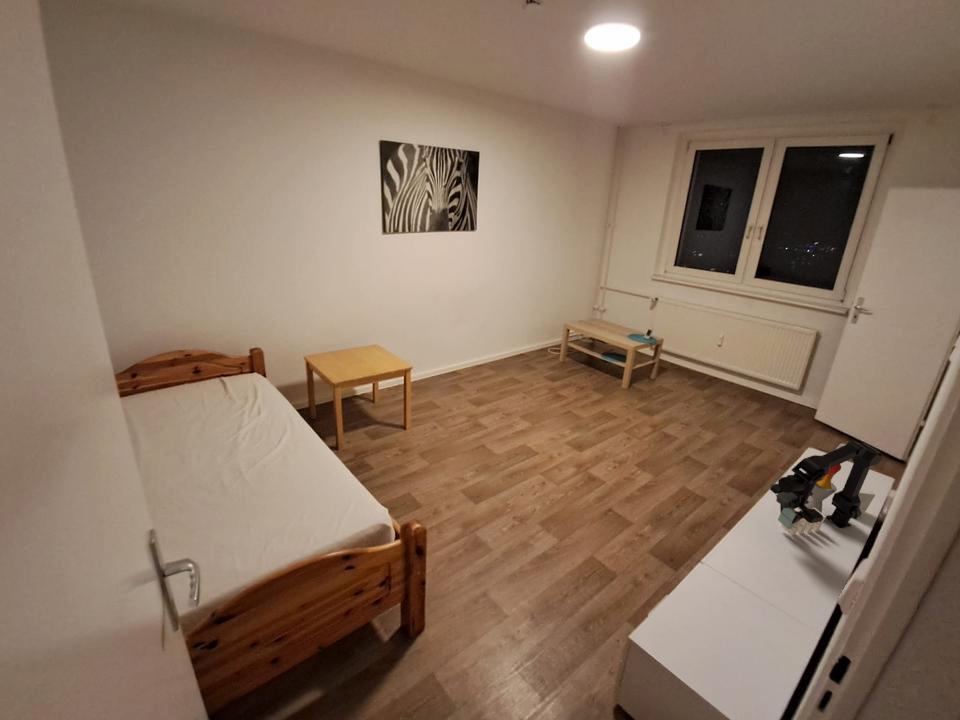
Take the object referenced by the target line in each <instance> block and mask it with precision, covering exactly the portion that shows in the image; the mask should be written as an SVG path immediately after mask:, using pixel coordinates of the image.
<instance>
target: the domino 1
mask: <svg viewBox="0 0 960 720" xmlns="http://www.w3.org/2000/svg"><path fill="white" fill-rule="evenodd" d="M795 512H797V510H796V509H791V508H783V510H782V512H781V513H780V514H779V515H778V518H777V521H778V522H779V523H781V525H782V524H783V525H784V526H785V527H786V528H787V529H791V528H792V526H793V524H792V521H793V519H794V517H795V515H796V513H795Z"/></svg>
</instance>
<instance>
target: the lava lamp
mask: <svg viewBox="0 0 960 720" xmlns="http://www.w3.org/2000/svg"><path fill="white" fill-rule="evenodd" d="M846 444H847V443H839V445H838V446H837V447H836V448H835V450H836V449H838V448H840V447H842V446H844V445H846ZM841 469H842V465H841V464H839V465H837V466H834V467H832V468H831V469H830V470H829V473H828V474H827V475H826V476H825V477H823V478H822V480H819V481H818V482H817V483H816V485H815V487H814V489H813V490H812V493H813V495H812V496H809V498H808V500H807V501H809V503H808V504H805V506H806V507H808V508H810V509H812V508H816V509H817V510H818V511H819V512H821V513H822V512H823V501H824V500H825V499H827V498H828V497H830V496H831V495H834V494H835V493H837V490H838V488H837V486H836V485H835V484H834V483H832V480H833V478H834V476H835V475H837V473H838V472H840V471H841ZM797 510H801V509H800V508H797ZM822 514H823V513H822Z"/></svg>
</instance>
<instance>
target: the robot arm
mask: <svg viewBox="0 0 960 720" xmlns="http://www.w3.org/2000/svg"><path fill="white" fill-rule="evenodd" d="M845 444H846V445H844V446H842V447H840V448H838V449H836V448H835V449H834V450H831V451H830V452H827V453H825V454H823V455H816V454H814V455H811V456H807V457H805V458H803V459H801V460H800V461H799V462H798V463H797V464H796V465H795V466H794V467H793V468H791V471H792V472H793V474H787V475H786V476H782V477H780V478H778V482H777V483H773V484H771V485H770V488H769V490H770V491H771V492H772V493H774V494H775V496H776V499H775V501H776V502H777V503H778V505H780V506H779V507H780V508H779V509H780V514H781V512H782V510H783V508H791V509H794V510H796V509H798V508H800V509H801V510H800V511H799V512H795V513H796V515H795V517H794V519H793V521H792V524H794V523H796V522H798V521H800V520H801V519H803V518H804V519H805V520H806V521H807V522H809V523H815V522H821V521H822V520H823V515H824V514H823V513H822V514H823V515H822V514H820V513H819V512H818V511H817V510H815V509H810V508H808V507H806V506H805V504H808V503H809V501H807V500H808V498H809V496H812V495H813V493H812V490H813V489H814V487H815V485H816V483H817V482H818V481H819V480H822V478H823V477H825V476H826V475H827V474H828V473H829V470H830V469H831V468H832V467H834V466H837V465H839V464H840V465H841V464H843V463H845V462H847V461H849V460H851V459H852V462H853V463H852V467H851V469H850V472H849V474H848V476H847V479H846V481H845V484H844V486H843V488H842V490H840V491H836V492H834V493H833V496H832V498H831V505H833V506H834V507H835V508H834V511H833V512H832V514H827V515H826V518H827V519H828V520H829V521H830V522H831V523H833V524H834V525H835V526H837V527H838V528H839V529H845V528H850V527H852V526H853V524H851V523H850V520H851V519H853V520H858V518H860V517H861V516H860V515H861V514H862V512H861V510H860V508H859V507H860V504H861V501H860V498H859V495H858V494H859V492H860V490H861V487H862V485H863V483H864V482H865V481H866V478H867V477H868V473H869V472H870V469H871V468H872V467H874V466H877V465H879V463H880V462H881V461H882V460H883V454H882V452H880V451H878V450H877V449H875V447H872V446H870V445H868V444H867V443H865V442H861V443H859V442H858V441H854V440H849V441H848V442H846V443H845ZM864 484H865V483H864Z"/></svg>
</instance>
